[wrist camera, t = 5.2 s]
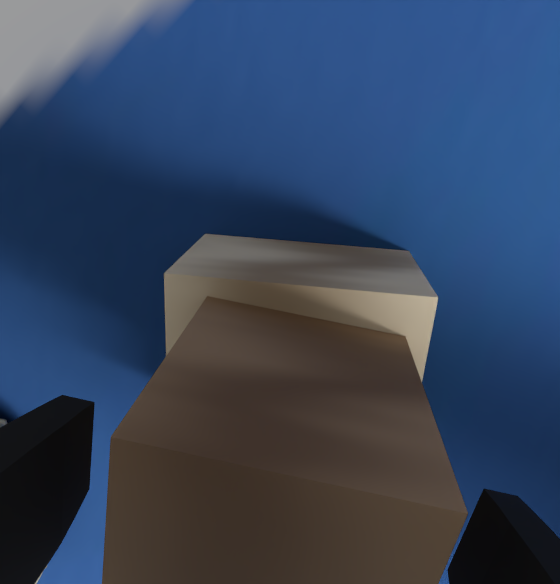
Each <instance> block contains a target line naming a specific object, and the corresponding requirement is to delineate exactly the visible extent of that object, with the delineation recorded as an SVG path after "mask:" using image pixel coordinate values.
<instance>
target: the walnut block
mask: <svg viewBox="0 0 560 584" xmlns="http://www.w3.org/2000/svg"><path fill="white" fill-rule="evenodd" d="M467 515H468V512H467V509H466V506H465V504H464V501H463V498H462V495H461V492H460V489H459V487H458V484H457V481H456V478H455V475H454V472H453V470H452V467H451V464H450V461H449V458H448V455H447V453H446V450H445V447H444V444H443V441H442V438H441V436H440V433H439V430H438V427H437V424H436V421H435V419H434V416H433V413H432V410H431V407H430V404H429V402H428V399H427V396H426V393H425V390H424V387H423V385H422V382H421V379H420V376H419V373H418V370H417V368H416V365H415V362H414V359H413V356H412V353H411V351H410V348H409V345H408V342H407V339H406V336H401V335H396V334H391V333H386V332H381V331H377V330H372V329H367V328H362V327H357V326H352V325H347V324H342V323H338V322H333V321H328V320H323V319H318V318H313V317H308V316H303V315H298V314H294V313H289V312H284V311H279V310H274V309H269V308H264V307H259V306H254V305H249V304H244V303H239V302H234V301H229V300H225V299H220V298H215V297H210V296H207V297H206V299H205V300H204V302H203V303H202V305H201V306H200V307H199V309H198V310H197V312H196V313H195V315H194V316H193V318H192V319H191V321H190V322H189V324H188V325H187V326H186V328H185V329H184V331H183V332H182V334H181V335H180V337H179V338H178V340H177V341H176V343H175V344H174V345H173V347H172V348H171V350H170V351H169V353H168V354H167V356H166V357H165V359H164V360H163V362H162V363H161V364H160V366H159V367H158V369H157V370H156V372H155V373H154V375H153V376H152V378H151V379H150V381H149V382H148V383H147V385H146V386H145V388H144V389H143V391H142V392H141V394H140V395H139V397H138V398H137V399H136V401H135V402H134V404H133V405H132V407H131V408H130V410H129V411H128V413H127V414H126V416H125V417H124V418H123V420H122V421H121V423H120V424H119V426H118V427H117V429H116V430H115V432H114V433H113V435H112V436H111V443H110V460H109V476H108V493H107V510H106V527H105V543H104V560H103V577H102V584H438V583H439V581H440V578H441V576H442V574H443V571H444V569H445V567H446V564H447V562H448V560H449V557H450V555H451V553H452V550H453V548H454V545H455V543H456V541H457V538H458V536H459V534H460V531H461V529H462V527H463V524H464V522H465V520H466V517H467Z"/></svg>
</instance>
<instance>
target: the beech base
mask: <svg viewBox="0 0 560 584" xmlns="http://www.w3.org/2000/svg"><path fill="white" fill-rule="evenodd" d="M164 294H165V333H166V356H167V354H168V353H169V351H170V350H171V348H172V347H173V345H174V344H175V343H176V341H177V340H178V338H179V337H180V335H181V334H182V332H183V331H184V329H185V328H186V326H187V325H188V324H189V322H190V321H191V319H192V318H193V316H194V315H195V313H196V312H197V310H198V309H199V307H200V306H201V305H202V303H203V302H204V300H205V299H206V297H207V296H210V297H215V298H220V299H225V300H229V301H234V302H239V303H244V304H249V305H254V306H259V307H264V308H269V309H274V310H279V311H284V312H289V313H294V314H298V315H303V316H308V317H313V318H318V319H323V320H328V321H333V322H338V323H342V324H347V325H352V326H357V327H362V328H367V329H372V330H377V331H381V332H386V333H391V334H396V335H401V336H406V339H407V342H408V345H409V348H410V351H411V353H412V356H413V359H414V362H415V365H416V368H417V370H418V373H419V376H420V379H421V382H422V379H423V374H424V369H425V364H426V359H427V354H428V348H429V343H430V338H431V333H432V328H433V323H434V317H435V312H436V307H437V302H438V296H437V295H436V293H435V291H434V290H433V288H432V287H431V285H430V284H429V282H428V280H427V279H426V277H425V276H424V274H423V273H422V271H421V269H420V268H419V266H418V265H417V263H416V262H415V260H414V258H413V257H412V255H411V254H410V252H409V251H405V250H393V249H381V248H369V247H357V246H345V245H333V244H321V243H309V242H297V241H286V240H274V239H262V238H250V237H238V236H226V235H214V234H204V235H203V236H202V237H201V238H200V239H199V240H198V241H197V242H196V243H195V244H194V245H193V246H192V247H191V248H190V249H189V250H188V251H187V252H186V253H185V254H183V255H182V256H181V257H180V258H179V259H178V260H177V261H176V262H175V263H174V264H173V265H172V266H171V267H170V268H169V269H168V270H167V271H166V272H165V273H164Z"/></svg>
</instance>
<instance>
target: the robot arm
mask: <svg viewBox="0 0 560 584" xmlns="http://www.w3.org/2000/svg"><path fill="white" fill-rule="evenodd" d="M93 418H94V402H91V401H87V400H82V399H78V398H73V397H69V396H64V395H61V396H59V397H57V398H55V399H53V400H51V401H49V402H47V403H45V404H43V405H41V406H40V407H38V408H36V409H34V410H32V411H30V412H28V413H26V414H24V415H23V416H21V417H19V418H17V419H15V420H13V421H11V422H9V423H8V424H6V425H4V426H2V427H0V584H35V583H36V581H37V579H38V578H39V576H40V575H41V573H42V572H43V570H44V569H45V567H46V566H47V564H48V563H49V561H50V560H51V558H52V557H53V555H54V554H55V552H56V550H57V549H58V547H59V546H60V544H61V543H62V541H63V539H64V537H65V535H66V533H67V531H68V529H69V528H70V526H71V524H72V522H73V520H74V518H75V516H76V514H77V512H78V510H79V508H80V506H81V504H82V502H83V500H84V498H85V496H86V494H87V492H88V490H89V485H90V468H91V452H92V435H93ZM448 577H449V584H560V539H559V538H558V537H557V535H556V534H555V533H554V532H553V531H552V530H551V529H550V528H549V527H548V526H547V525H546V524H545V523H544V522H543V521H542V520H541V519H540V518H539V517H538V516H537V515H536V514H535V513H534V512H533V511H532V510H531V509H530V508H529V507H528V506H527V505H526V504H525V503H524V502H523V501H522V500H521V499H520V498H519V497H518V496H515V495H510V494H506V493H501V492H497V491H492V490H488V489H483V492H482V494H481V496H480V498H479V501H478V503H477V505H476V507H475V510H474V512H473V514H472V516H471V518H470V521H469V523H468V525H467V527H466V530H465V532H464V534H463V536H462V539H461V541H460V543H459V545H458V548H457V550H456V552H455V554H454V556H453V559H452V561H451V563H450V565H449V568H448Z"/></svg>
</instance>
